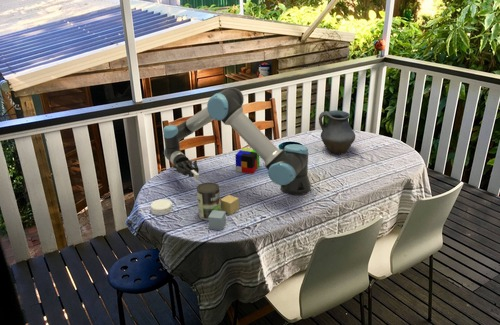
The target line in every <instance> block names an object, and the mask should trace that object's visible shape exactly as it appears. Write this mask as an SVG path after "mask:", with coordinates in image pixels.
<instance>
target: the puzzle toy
mask: <svg viewBox="0 0 500 325" xmlns="http://www.w3.org/2000/svg"><path fill="white" fill-rule="evenodd" d="M234 155H235V156H234V157H235V172H239V173H245V174H250V175H251V174H252V175H254V173H255V172H256V171H257V170H258V168H260V156H259V155H258V154H257V153H256V152H255V151H254V150H253V149H252V148H245V147H242V148H241V149H240V150H239V151H237V153H236V154H234Z"/></svg>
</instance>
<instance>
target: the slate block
mask: <svg viewBox="0 0 500 325" xmlns="http://www.w3.org/2000/svg"><path fill="white" fill-rule="evenodd" d="M207 221H208V229H209V230H219V231H223V230H224V228H225V226H226V225H227V213H226V211H217V210H212V212H211V213H210V215H209V217H208V220H207Z"/></svg>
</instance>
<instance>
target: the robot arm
mask: <svg viewBox="0 0 500 325" xmlns="http://www.w3.org/2000/svg"><path fill="white" fill-rule="evenodd" d="M244 101H245V98H244V95H243V92H242V91H241V90H240V89H238V88H236V87H227V88H225V89H223V90H221V91H219V92H217V93H214V94H213V95H212V96H211V97H209V99H208V101H207V104H206V107H205V108H203V109H202V110H200V111H198V112H197V113H195V114H193V115H192V116H190V117H189V118H188V119H186V120H184V121H182V122H181V123H180V124H178V125H174V124H169V125H166V126H164V127H163V132H162V133H163V139H164V140H163V141H164V146H165V147H164V149H163V155H164V156H165V158H166V159H167V160H168V161H169V162H170V163H171V164H172V165H173V166H172V168H173V171H174V172H176V173H178V174H181V175H182V176H185V177H187V176H188V177H190V178H194V180H195V181H199V180H200V174H199V166H198V161H197V160H196V159H195V160H194V161H192V160H190V159H189V158H188V157H187V156H186V155H185V154H184V153H183V152H182V151H181V148H180V147H181V146H180V141H181V140H183V139H184V138H186V137H188V136H190V135H193V134H194V132H196V131H198V130H199V129H201V128H203V127H204V126H206V125H208V124H209V123H210V122H212V121H214V120H215V121H219V122H220V121H221V123H223V124H224V125H226V126H230V127H231V128H232V129H233V130H234V131H235V132H236V133H237V134H238V136H240V137H241V139H243V141H244V142H245V143H246V144H247V145H248V146H249V147H250V149H253V150H254V151H255V152H256V153H257V154H258V155H259V158H261V160H263V161H264V167H265V168H266V170H268V172H267V174H268V177H269V179H270V180H271V182H273V183H274V184H276V185H279V186H280V190H281V191H282V192H283V194H287V195H291V196H302V195H305V194H308V193H309V192H310V191H311V186H312V185H311V181H310V178H309V176H308V173H309V172H308V170H309V169H308V168H309V166H308V164H309V149H308V147H307V146H305V145H303V144H297V143H296V144H294V143H293V144H291V143H290V144H287V145H285V146H284V148H282V149H280V148H277V147H276V145H275V144H274V143H273V142H272V141H271V140H270V139H269V138H268V137H267V136H266V135H265V134H264V133H263V132H262V131H261V129H259V128H258V127H257V125H256V124H255V123H253V121H252V120H251V119H250V118H249V117H248V116H247V115H246V114H245V113H244V107H243V105H244Z"/></svg>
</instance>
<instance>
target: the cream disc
mask: <svg viewBox="0 0 500 325" xmlns="http://www.w3.org/2000/svg"><path fill="white" fill-rule="evenodd" d="M172 211H173V202H172V201H171V200H170V199H166V198H164V199H163V198H160V199H156V200H155V201H153V202H151V204H150V212H151V213H152V214H153V215H154V216H155V215H156V216H166V215H169V214H170V213H171V212H172Z"/></svg>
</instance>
